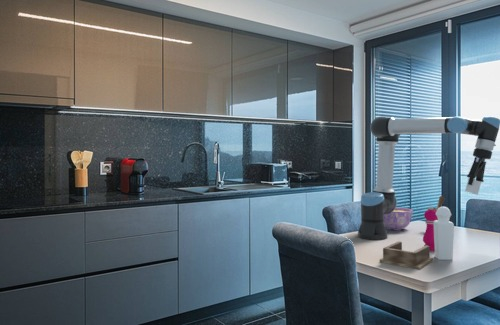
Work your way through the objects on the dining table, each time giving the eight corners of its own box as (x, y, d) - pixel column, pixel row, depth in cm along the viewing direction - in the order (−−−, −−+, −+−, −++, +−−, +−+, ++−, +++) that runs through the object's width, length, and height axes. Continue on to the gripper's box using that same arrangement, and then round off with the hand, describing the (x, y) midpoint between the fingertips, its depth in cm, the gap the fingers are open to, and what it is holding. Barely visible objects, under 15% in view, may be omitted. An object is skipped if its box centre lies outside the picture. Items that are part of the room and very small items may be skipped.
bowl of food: (406, 233, 219) (405, 212, 219) (371, 229, 232) (371, 209, 232) (417, 228, 235) (417, 208, 234) (384, 224, 248) (384, 206, 247)
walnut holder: (379, 262, 162) (379, 247, 162) (395, 254, 174) (395, 241, 174) (419, 269, 151) (419, 253, 151) (433, 260, 163) (433, 246, 163)
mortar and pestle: (430, 228, 233) (430, 195, 232) (446, 230, 227) (446, 195, 227) (426, 231, 223) (426, 196, 223) (442, 233, 218) (442, 197, 218)
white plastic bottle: (454, 260, 163) (454, 207, 163) (437, 259, 164) (437, 207, 164) (449, 256, 169) (449, 205, 169) (433, 256, 171) (433, 205, 170)
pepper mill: (433, 252, 178) (432, 207, 177) (419, 248, 184) (419, 206, 184) (443, 250, 181) (443, 206, 181) (429, 246, 187) (429, 205, 187)
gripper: (487, 146, 174) (474, 193, 175) (497, 155, 193) (485, 196, 194) (469, 143, 179) (456, 188, 180) (480, 152, 198) (468, 192, 198)
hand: (471, 193), depth 187 cm, fingers open, 13 cm apart
